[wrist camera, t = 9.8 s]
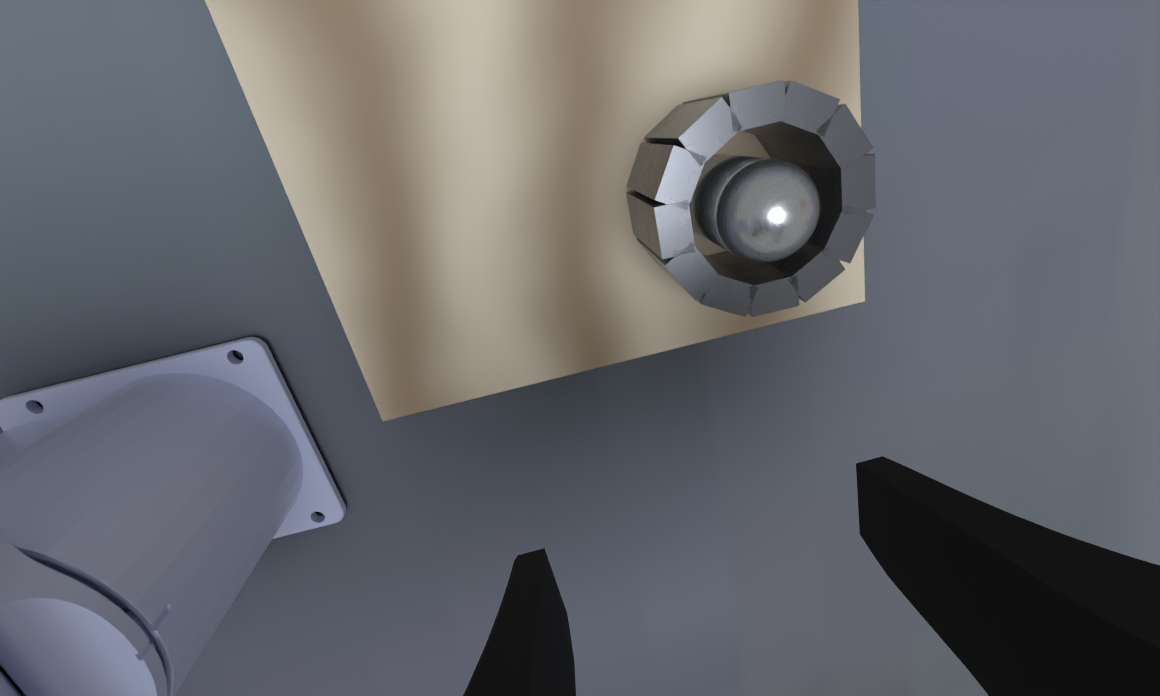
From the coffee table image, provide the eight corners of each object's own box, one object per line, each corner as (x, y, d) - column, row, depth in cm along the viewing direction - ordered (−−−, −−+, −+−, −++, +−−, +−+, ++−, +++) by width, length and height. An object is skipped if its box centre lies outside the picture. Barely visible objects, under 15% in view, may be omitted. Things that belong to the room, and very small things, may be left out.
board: (389, 408, 20) (382, 421, 19) (92, -313, 13) (58, -347, 12) (849, 293, 21) (864, 301, 20) (822, -484, 13) (845, -532, 12)
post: (681, 243, 18) (740, 284, 13) (669, 164, 17) (728, 176, 12) (756, 225, 18) (843, 258, 13) (748, 145, 17) (838, 148, 12)
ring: (644, 296, 19) (675, 336, 15) (612, 119, 17) (638, 114, 13) (806, 256, 19) (875, 287, 15) (795, 75, 17) (874, 58, 13)
